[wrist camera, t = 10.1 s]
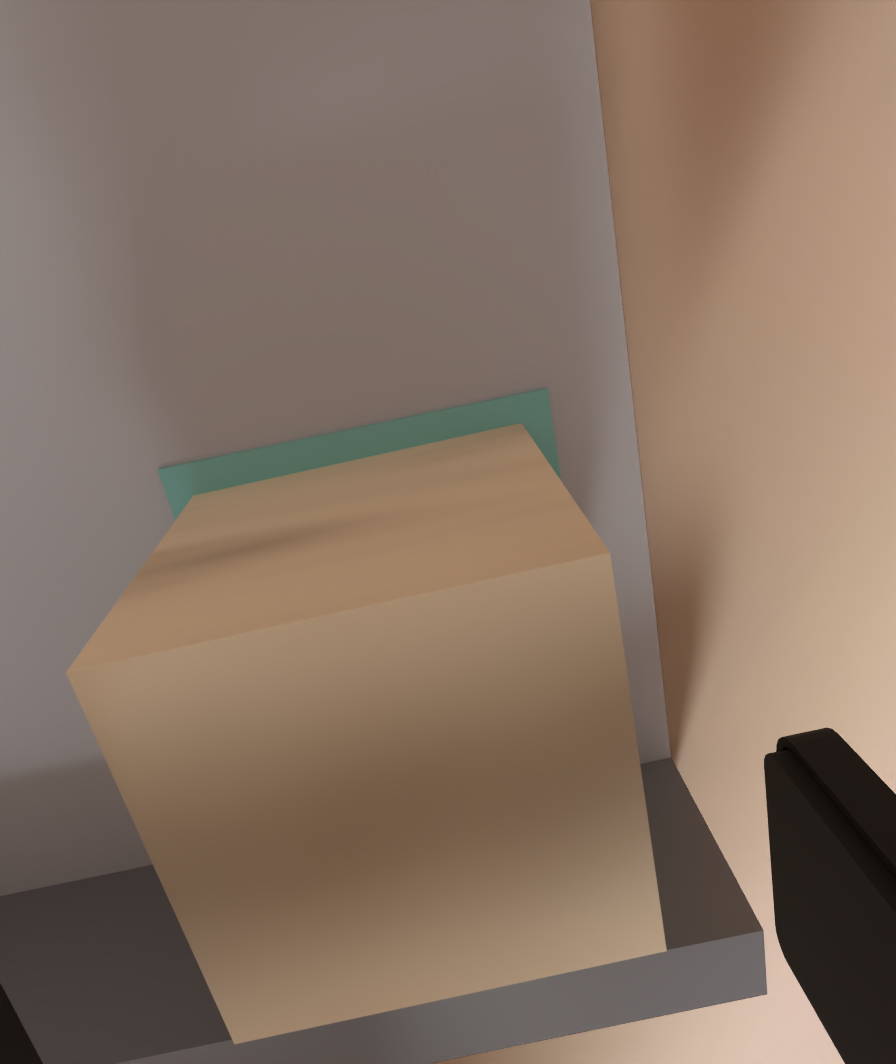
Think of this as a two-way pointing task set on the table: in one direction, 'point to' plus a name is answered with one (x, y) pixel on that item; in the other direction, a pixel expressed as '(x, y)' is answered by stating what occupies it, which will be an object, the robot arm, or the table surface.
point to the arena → (295, 429)
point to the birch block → (381, 735)
